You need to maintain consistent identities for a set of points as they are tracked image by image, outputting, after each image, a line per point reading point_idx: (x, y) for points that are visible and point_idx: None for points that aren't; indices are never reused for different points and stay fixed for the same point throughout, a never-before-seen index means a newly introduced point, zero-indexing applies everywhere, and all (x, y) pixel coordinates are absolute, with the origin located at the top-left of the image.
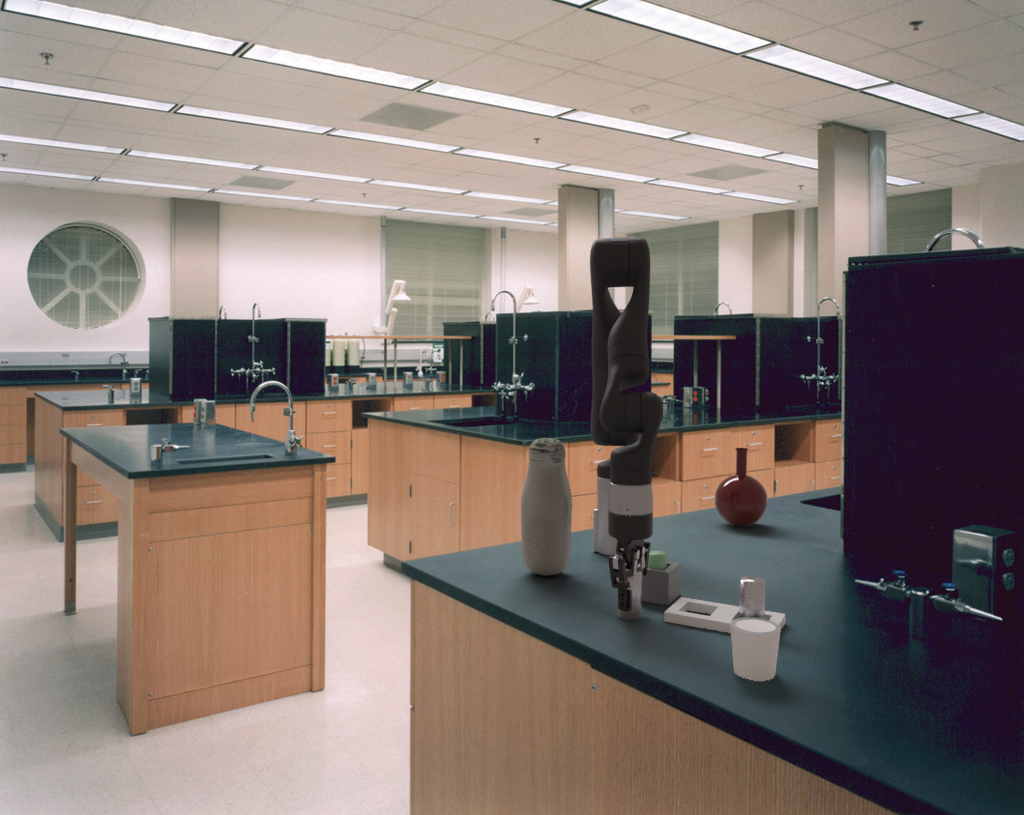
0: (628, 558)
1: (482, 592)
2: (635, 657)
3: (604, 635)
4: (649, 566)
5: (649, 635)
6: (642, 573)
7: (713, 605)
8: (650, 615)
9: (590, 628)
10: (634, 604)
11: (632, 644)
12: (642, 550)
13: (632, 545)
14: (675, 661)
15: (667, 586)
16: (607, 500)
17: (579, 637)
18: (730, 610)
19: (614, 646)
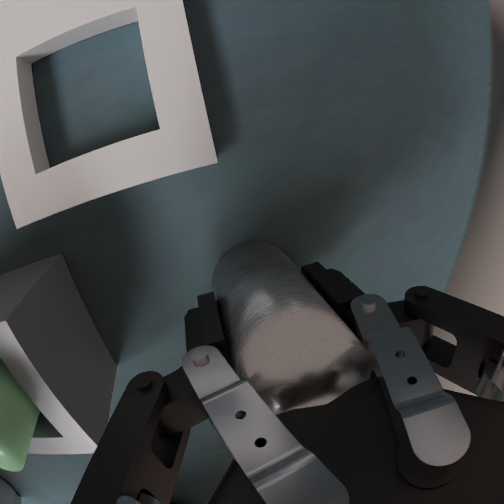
0: (485, 398)
1: None
2: (469, 105)
3: (417, 234)
4: (34, 417)
5: (359, 132)
6: (201, 378)
7: (14, 76)
8: (192, 236)
9: (395, 289)
10: (294, 269)
11: (429, 143)
12: (346, 491)
13: (482, 487)
14: (438, 21)
15: (35, 289)
16: None
17: (444, 267)
18: (33, 5)
19: (453, 174)
